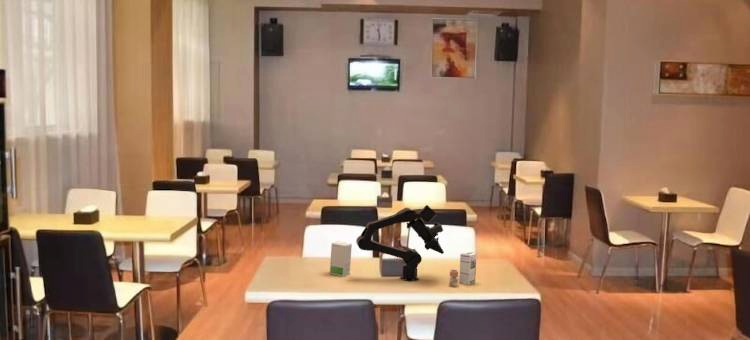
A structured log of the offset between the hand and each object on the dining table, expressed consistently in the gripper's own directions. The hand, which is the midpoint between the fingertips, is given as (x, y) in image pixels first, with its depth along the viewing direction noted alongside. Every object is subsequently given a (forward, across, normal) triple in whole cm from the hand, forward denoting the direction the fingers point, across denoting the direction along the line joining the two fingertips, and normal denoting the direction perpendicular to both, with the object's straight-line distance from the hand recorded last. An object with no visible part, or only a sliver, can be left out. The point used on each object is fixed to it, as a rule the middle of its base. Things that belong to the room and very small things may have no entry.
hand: (443, 253), depth 333 cm
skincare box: (-25, -1, +45) cm, 51 cm away
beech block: (+14, -7, +6) cm, 16 cm away
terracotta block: (+14, +6, +6) cm, 16 cm away
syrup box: (+18, 0, +1) cm, 18 cm away
